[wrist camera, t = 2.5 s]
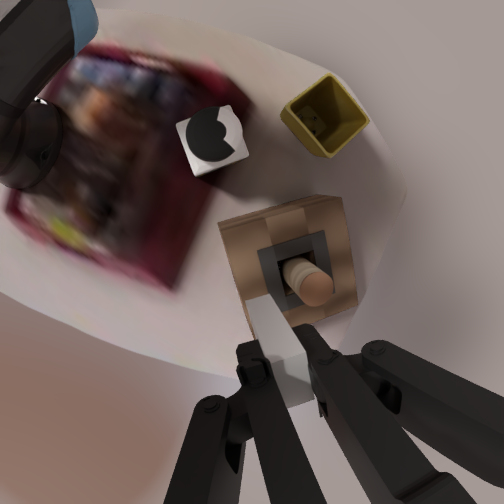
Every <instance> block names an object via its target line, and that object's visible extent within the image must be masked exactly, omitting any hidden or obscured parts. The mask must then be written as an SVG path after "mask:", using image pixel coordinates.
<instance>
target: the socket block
mask: <svg viewBox="0 0 504 504" xmlns="http://www.w3.org/2000/svg"><path fill="white" fill-rule="evenodd" d="M218 227H219V230H220V233H221V237H222V240H223V244H224V247H225V250H226V254H227V257H228V260H229V264H230V267H231V270H232V274H233V277H234V280H235V283H236V287H237V290H238V293H239V296H240V300H241V303H242V306H243V309H244V312H245V316H246V319H247V321H248V324H249V327H250V330H251V332H252V335H253V338H254V340H256V338H255V334H254V331H253V327H252V324H251V320H250V317H249V313H248V310H247V306H246V303H245V301H246V300H250V299H253V298H257V297H260V296H263V295H267V294H270V295H271V297H272V298H273V300H274V302H275V303H276V305H277V306H278V308H279V310H280V311H281V313H282V314H283V316H284V318H285V319H286V321H287V322H288V324H289V326H290V327H291V328H292V327H295V326H298V325H301V324H304V323H307V324H310V323H313V322H316V321H318V320H321V319H324V318H326V317H329V316H331V315H334V314H336V313H339V312H342V311H344V310H346V309H349V308H351V307H354V306H356V305H358V299H357V291H356V283H355V275H354V268H353V261H352V254H351V248H350V242H349V236H348V230H347V224H346V219H345V213H344V208H343V203H342V198H341V197H334V196H326V195H314V196H310V197H306V198H303V199H299V200H295V201H292V202H288V203H284V204H281V205H277V206H273V207H270V208H266V209H263V210H259V211H256V212H252V213H249V214H245V215H242V216H238V217H235V218H232V219H228V220H225V221H221V222H218ZM296 255H300V256H302V257H304V258H305V259H307V260H308V261H309V262H311V263H312V264H314V265H315V266H316V267H318V268H319V269H320V270H322V271H323V272H325V273H326V274H327V275H329V276H330V278H331V279H332V281H333V286H334V288H333V293H332V295H331V297H330V298H329V300H328V301H327V302H325V303H324V304H322V305H320V306H315V307H313V306H309V305H307V304H305V303H304V302H303V301H302V300H301V298H300V297H299V296H298V295H297V294H296V293H295V292H294V290H293V289H292V288H291V287H290V286H289V285H288V284H287V282H286V281H285V280H284V279H283V278H282V276H281V274H280V272H279V268H278V264H277V261H280V260H283V259H286V258H289V257H293V256H296Z"/></svg>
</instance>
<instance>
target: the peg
mask: <svg viewBox="0 0 504 504" xmlns="http://www.w3.org/2000/svg"><path fill="white" fill-rule="evenodd" d="M280 272H281V276H282V278H283V279H284V280H285V281H286V282H287V284H288V285H289V286H290V287H291V288H292V289H293V290H294V292H295V293H296V294H297V295H298V296H299V297H300V298H301V300H302V301H303V302H304V303H305V304H307V305H309V306H313V307H315V306H320V305H322V304H324V303H325V302H327V301H328V300H329V298H330V297H331V295H332V293H333V288H334V286H333V281H332V279H331V278H330V276H329V275H327V274H326V273H325V272H323V271H322V270H320V269H319V268H318V267H316V266H315V265H314V264H312V263H311V262H309V261H308V260H307V259H305V258H304V257H302V256H300V255H296V256H293V257H289V258H286V259H285V260H284V261H283V263H282V265H281V269H280Z"/></svg>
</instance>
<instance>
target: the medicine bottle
mask: <svg viewBox="0 0 504 504" xmlns="http://www.w3.org/2000/svg"><path fill="white" fill-rule="evenodd" d="M176 128H177V131H178V134H179V136H180V139H181V142H182V145H183V147H184V150H185V152H186V155H187V158H188V160H189V163H190V166H191V168H192V171H193V173H194V175H195V177H200V176H202V175H205V174H208V173H210V172H213V171H215V170H218V169H221V168H223V167H226V166H229V165H231V164H234V163H237V162H240V161H241V160H243V159H245V158H247V157H248V156H249V152H248V150H247V147H246V144H245V142H244V139H243V136H242V126H241V123H240V121H239V119H238V118H237V116H236V115H235V114H234V113H233V110H232V108H231V106H230V105H226V106H223V107H217V106H212V107H207V108H204V109H201V110H200V111H198V112H197V113H195V114H194V115H193V116H192V117H191V118H189V119H186V120H184V121H181V122H179V123H177V124H176Z"/></svg>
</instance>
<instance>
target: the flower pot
mask: <svg viewBox="0 0 504 504" xmlns="http://www.w3.org/2000/svg"><path fill="white" fill-rule="evenodd" d="M299 115H301V116H302V118H299ZM280 117H281V120H282V121H283V122H284V123H285V124H286V125H287V126H288V128H289V129H290V130H291V131H292V132H293V133H294V134H295V135H296V137H297V138H298V139H299V140H300V141H301V142H302V144H303V145H304V146H305V147H306V148H307V150H308V151H309V152H310V153H312V154H313V155H315V156H319V157H326V158H332V157H333V156H334V155H336V154H337V153H338V152H339V151H340V150H341V149H342V148H343V147H344V146H345V145H346V144H347V143H348V142H349V141H350V140H352V139H353V138H354V137H355V136H356V135H357V134H358V133H359V132H360V131H361V130H362V129H364V128H365V127H366V126H367V125H368V124H369V122H370V120H369V118H368V117H367V115H366V114H365V113H364V111H363V110H362V109H361V108H360V106H359V105H358V104H357V102H356V101H355V100H354V99H353V98H352V96H351V95H350V94H349V93H348V92H347V90H346V89H345V88H344V87H343V85H342V84H341V83H340V82H339V81H338V80H337V78H336V77H335V76H334V75H332V74H331V73H327V74H325V75H324V76H323V77H322V78H320V79H319V80H318V81H317V82H315V83H314V84H313V85H311V86H310V87H309V88H307V89H306V90H305V91H303V92H302V93H301V94H299V95H298V96H297V97H295V98H294V99H293V100H291V101H290V102H289V103H287V104H286V105H285V107H284V109H283V110H282V112H281V114H280ZM313 117H315V118H316V120H313ZM312 131H315V132H316V133H315V134H313V133H312Z"/></svg>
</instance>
